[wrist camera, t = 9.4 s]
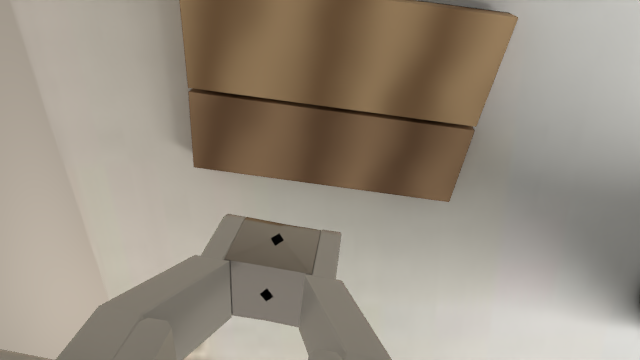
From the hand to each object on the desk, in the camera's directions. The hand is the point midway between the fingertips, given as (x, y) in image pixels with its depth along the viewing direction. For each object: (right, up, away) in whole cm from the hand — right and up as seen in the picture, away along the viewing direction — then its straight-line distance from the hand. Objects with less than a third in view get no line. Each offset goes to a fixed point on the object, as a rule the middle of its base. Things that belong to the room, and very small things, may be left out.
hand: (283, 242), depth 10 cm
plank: (+2, +10, +15) cm, 18 cm away
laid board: (+1, +5, +19) cm, 19 cm away
